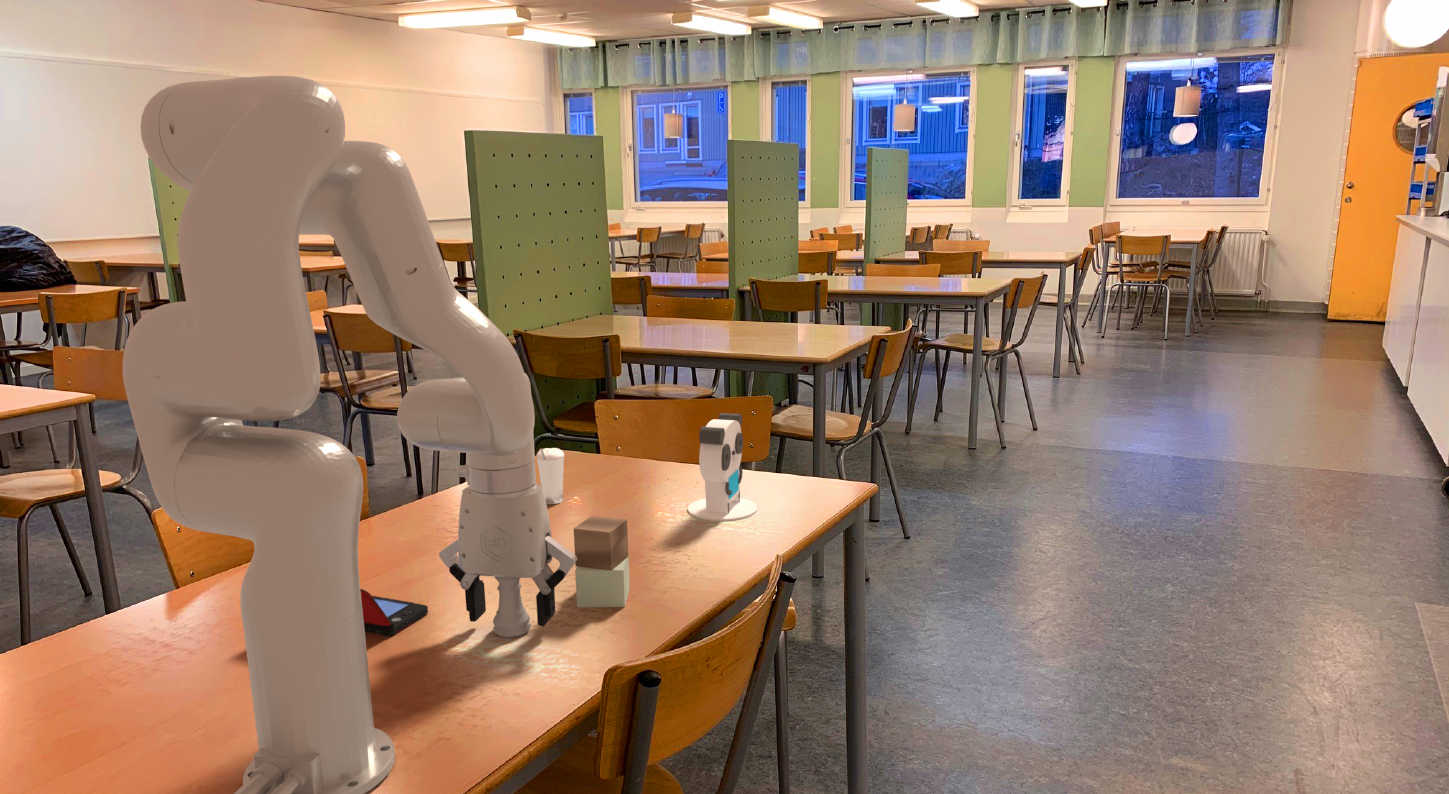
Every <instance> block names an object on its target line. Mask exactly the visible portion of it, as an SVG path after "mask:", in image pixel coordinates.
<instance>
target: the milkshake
mask: <svg viewBox="0 0 1449 794" xmlns="http://www.w3.org/2000/svg"><path fill="white" fill-rule="evenodd" d="M535 456H536V463H537V469H538V473H539V481H540V482H539V484H540V485H541V487H542V490H543V494H544V497H545V501H546V505H557V504H561V503H562V502H563V500H564V498H563V497H564V495H563V494H564V469H565V468H564V467H565V464H564V463H565V452H564V451H563V450H562V449H560V448H557V447H551V448H549V447H548V448H547V447H546V448H539V450H538V452H537V453H536V455H535Z"/></svg>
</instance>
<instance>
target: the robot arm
mask: <svg viewBox="0 0 1449 794" xmlns="http://www.w3.org/2000/svg"><path fill="white" fill-rule="evenodd" d="M140 136H141V141H142V144H143V147H144V149H145V152H146V153H147V155H148V158H149V159H150V161H151V162H152V163H153V164H154V166H155V167H156V168H157V169H158V170H159V171H160V172H161V173H162V174H163V175H164V177H166V178H168V179H169V180H170V181H171V182H173V183H174V184H176V185H177V186H179V187H181V188H182V189H185V190H187V191H189V193H188V196H187V197H186V200H185V202H184V205H183V208H182V212H181V214H180V218H179V224H178V227H177V239H176V241H177V243H176V244H177V254H178V255H177V256H178V263H179V268H180V273H181V279H182V284H183V291H184V297H185V301H174V302H169V303H166V304H161V305H159V306H156V307H155V308H153V309H151V310H149V311H148V312H146V313H145V314H144V315H143V316H142V317H141V318H139V320H138V321H137V322H136V323H135V324H134V326H133V327H132V329H131V331H130V333H129V335H128V337H127V340H126V341H125V342H126V343H125V347H124V349H123V358H122V379H123V386H124V391H125V394H126V398H127V402H128V406H129V410H130V413H131V416H132V420H133V424H134V427H135V431H136V432H135V433H136V435H137V438H138V441H139V446H140V449H141V453H142V457H143V460H144V464H145V467H146V470H147V474H148V477H149V481H150V484H151V485H150V486H151V488H152V491H153V492H154V495H155V497H156V499H157V501H158V503H159V505H160V507H161V508H162V510H163V511H164V513H165V514H166V515H167V516H169V518H170V519H172V521H174V522H176V523H177V524H179V525H181V526H182V527H186V528H188V529H190V530H193V531H199V532H205V533H211V534H217V535H223V536H230V537H237V538H241V539H244V540H248V541H251V542H253V546H254V549H253V550H254V551H253V555H252V558H251V560H250V562H249V565H248V567H247V569H246V571H245V574H244V575H243V578H242V584H241V585H240V599H239V601H240V613H241V621H242V625H243V627H242V628H243V634H244V643H245V650H246V658H247V666H248V675H249V681H250V690H251V696H252V705H253V713H254V721H255V731H256V737H257V738H256V739H257V745H258V750H257V751H256V752H254V754H253V755H252V756H253V759H252V761H250V763H249V764H248V766H247V767H246V769H245V771H244V773H243V776H242V778H243V779H242V785H241V787H240V788H238V790H236V791H235V792H234V793H233V794H366V793H367V792H369V791H370V790H372V789H373V788H375V787H376V786H378V784H380V783H381V782H382V781H383V780H384V779H385V778H387V777H386V776H387V775H388V774H389V773H390V772H391V771H392V768H393V766H394V763H395V758H396V755H395V754H396V753H395V745H394V741H393V739H392V738H391V736H389V734H387V733H386V732H384V731H383V730H381V729H379V728H377V727H375V726H374V725H375V723H374V716H373V715H374V713H373V705H372V704H373V701H372V695H371V694H372V692H371V683H370V673H369V661H368V652H367V642H366V641H367V640H366V632H365V629H364V619H363V609H362V601H361V591H360V589H361V584H360V583H361V582H360V570H359V569H360V568H359V530H360V521H361V512H362V503H363V494H364V479H363V473H362V469H361V465H360V464H359V462H358V460H357V458H356V456H355V455H354V454H353V453H352V451H351V450H350V449H349V448H347V447H346V446H345V445H344V444H342V443H341V442H340V441H337V440H336V439H334V438H332V437H329V436H326V435H323V434H321V433H318V432H313V431H307V430H302V429H293V428H280V427H270V426H268V427H267V426H253V425H244V424H243V421H250V422H268V421H269V422H271V421H272V422H273V421H275V422H277V421H282V420H288V419H291V418H295V417H298V416H299V415H302V414H303V413H305V412H306V411H307V410H309V409H310V408H311V407H312V406H313V404H314V402H315V401H316V399H317V397H318V395H319V392H320V387H321V384H322V381H321V380H322V377H321V364H320V363H321V362H320V356H319V352H318V351H319V350H318V344H317V341H316V336H315V331H314V325H313V320H312V315H311V311H310V305H309V302H308V301H309V300H308V295H307V291H306V290H307V289H306V286H305V281H304V277H303V271H302V264H301V263H302V261H301V256H300V246H299V245H300V235H309V236H310V235H312V236H313V235H315V236H316V235H318V236H319V235H322V236H323V235H325V236H331V238H332V239H333V240H334V243H335V245H336V247H337V250H338V251H339V253H340V256H341V258H342V260H343V263H344V265H345V268H346V270H347V273H348V274H349V275H348V276H349V277H350V279H351V281H352V283H353V286H354V288H355V291H356V294H357V295H358V298H359V300H360V302H361V305H362V307H363V309H364V312H365V314H366V315H367V317H368V318H369V319H370V320H371V321H372V322H374V324H376V325H377V326H379V327H381V328H382V329H384V330H386V331H388V332H389V333H391V334H393V335H394V336H396V337H398V338H400V339H402V340H404V341H406V342H408V343H411V344H413V345H415V346H417V347H418V348H421V349H423V350H425V351H427V352H430V353H431V354H433V355H435V356H436V357H438V358H439V359H441V360H442V361H444V362H445V363H446V364H448V365H449V366H451V367H452V368H453V369H455V371H456V372H457V373H459V375H460V376H461V377H452V378H443V379H442V378H439V379H431V380H430V379H429V380H425V381H422V382H420V383H418V384H416V385H414V386H413V387H411V388H410V389H409V390H408V391H407V392H406V393H405V395H404V396H403V397H402V399H401V400H400V402H399V404H398V409H397V412H396V415H397V416H396V417H397V418H396V419H397V420H396V421H397V425H398V428H399V431H400V432H401V434H402V436H403V437H404V438H405V439H406V440H407V441H408V442H409V443H410V444H413V445H414V446H416V447H419V448H422V449H426V450H429V451H439V452H448V453H449V452H450V453H466V460H467V462H466V464H464V465H458V467H457V471H456V472H457V473H456V474H457V476H458V477H459V478H460V477H461V478H464V479H466V481H467V482H466V483H467V487H465V488H463V489H462V491H461V495H460V496H461V497H460V506H459V512H458V513H459V515H458V527H457V528H458V529H457V530H458V531H457V533H458V534H457V536H458V537H457V538H458V539H455V540H454V541H453V542H451V543H449V545H448V546H446V547H445V548H443V549H442V550H441V551H440V552H439V553H438V556H439V558H440V560H441V561H442V562H443V564H444V565H445V566H446V567H447V568H448V570H449V573H450V575H452V576H453V578H455V579H456V580H457V582H458V583H459V587H460V588H461V589H462V590H464V593H465V607H466V611H467V612H468V614H469V617H468V618H469V622H472V623H475V622H476V621H478V620H479V619H480V618H481V617H482V615H484V614H485V613H486V611H487V606H486V603H487V602H486V593H485V591H486V590H485V583H484V580H482V579H480V577H484V576H485V577H494V576H495V577H513V578H520V579H528V578H529V579H530V578H531V579H532V581H533V583H534V584H535V585H536V587H537V588H538V590H539V591H538V593H537V594H536V596H535V601H536V603H535V604H536V617H537V619H536V620H537V626H539V627H545V626H546V625H547V624H548V622H549V621H550V620H551V618H553V617H554V616H555V613H556V597H555V595H556V593H555V592H556V591H555V587H557V586H558V585H560V583H561V582H562V581H563V580H564V579H565V577H566V576H567V575H568V574H569V572H570V571H571V569H573V567H574V566H575V562H576V561H577V557H576V555H575V553H573V552H571V551H570V550H569V549H568V548H566V547H564V545H562V544H561V543H559V542H558V541H557V540H555V539H553V536H552V528H551V522H550V516H549V510H548V506H547V505H548V504H546V501H545V497H544V494H543V490H542V487H541V484H537V478H536V477H537V476H536V459H535V456H536V455H535V438H534V427H535V418H536V415H535V406H534V401H533V397H532V389H531V381H530V378H529V376H528V374H527V373H526V372H525V371H524V367H523V365H522V362H521V359H520V357H519V355H518V353H517V351H516V350H515V348H514V346H513V345H512V343H511V342H510V340H509V339H508V338H507V337H506V335H505V334H504V333H503V332H502V331H501V330H500V329H499V328H498V327H497V326H496V324H495V323H493V322H492V321H491V319H489V317H487V316H486V315H485V313H483V312H482V311H481V310H480V309H479V308H478V307H477V306H476V305H475V304H473V303H472V302H471V301H470V300H469V299H467V298H466V297H465V296H464V295H463V294H462V293H460V292H459V291H458V290H457V289H456V288H455V286H454V285H453V284H452V282H451V280H450V278H449V275H448V272H447V269H446V265H445V264H444V260H443V258H442V254H441V251H440V249H439V248H438V247H439V246H438V245H437V242H436V239H435V236H434V234H433V230H432V228H431V226H430V223H429V219H428V218H427V215H426V212H425V209H424V206H423V203H422V201H421V199H420V196H419V191H418V190H417V187H416V184H415V182H414V180H413V176H412V174H411V172H410V168H409V167H408V165H407V164H406V162H405V160H404V158H402V156H401V155H400V154H399V153H398V152H396V150H394V149H393V148H391V147H390V146H386V145H384V144H381V143H378V142H372V141H362V140H345V139H346V121H345V114H344V110H343V108H342V106H341V103H340V101H339V100H338V98H337V96H336V95H335V94H334V92H332V90H331V89H329V88H328V87H326V86H325V85H323V84H321V83H320V82H318V81H315V80H313V79H310V78H306V77H300V76H294V75H262V76H261V75H260V76H245V77H236V78H228V79H215V80H214V79H213V80H197V81H196V80H195V81H187V82H186V81H185V82H181V83H180V82H179V83H176V84H171V85H169V86H166V87H165V88H163V89H161V90H159V91H158V92H157V93H156V94H155V95H153V96H152V97H151V98H150V99H149V101H148V102H147V104H146V105H144V109H143V111H142V114H141V120H140ZM553 558H554V559H555V560H557V561H558V562H559V566H558V568H557V569H556V570H555V571H553V569H552V568H551V567H550V566H549V564H550V563H551V562H552V561H553ZM495 577H494V578H495Z"/></svg>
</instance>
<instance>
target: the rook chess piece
mask: <svg viewBox="0 0 1449 794" xmlns="http://www.w3.org/2000/svg"><path fill="white" fill-rule="evenodd" d="M493 577H494V578H495V580H496V581H497V582H498V587H497V591H498V594H499V598H498V607H497V609H496V612H495V613H496V614H495V615H494V617H493V619H492V622H493V625H494V626H493V627H492V631H493V632H494V633H495V635H496V636H498V637H500V638H504V639H513V638H518V637H521V636H523V635H525V634H526V633H528V632H529V630H530V628H531V627H532V624H531V622H530V619H531V617H530V615H529V612H527V609H526V607H524V605H523V604H524V603H523V600H522V599H523V598H522V597H521V595H522V594H521V588H522V584H521V583H520V580H521V578H513V577H495V576H493Z"/></svg>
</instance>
